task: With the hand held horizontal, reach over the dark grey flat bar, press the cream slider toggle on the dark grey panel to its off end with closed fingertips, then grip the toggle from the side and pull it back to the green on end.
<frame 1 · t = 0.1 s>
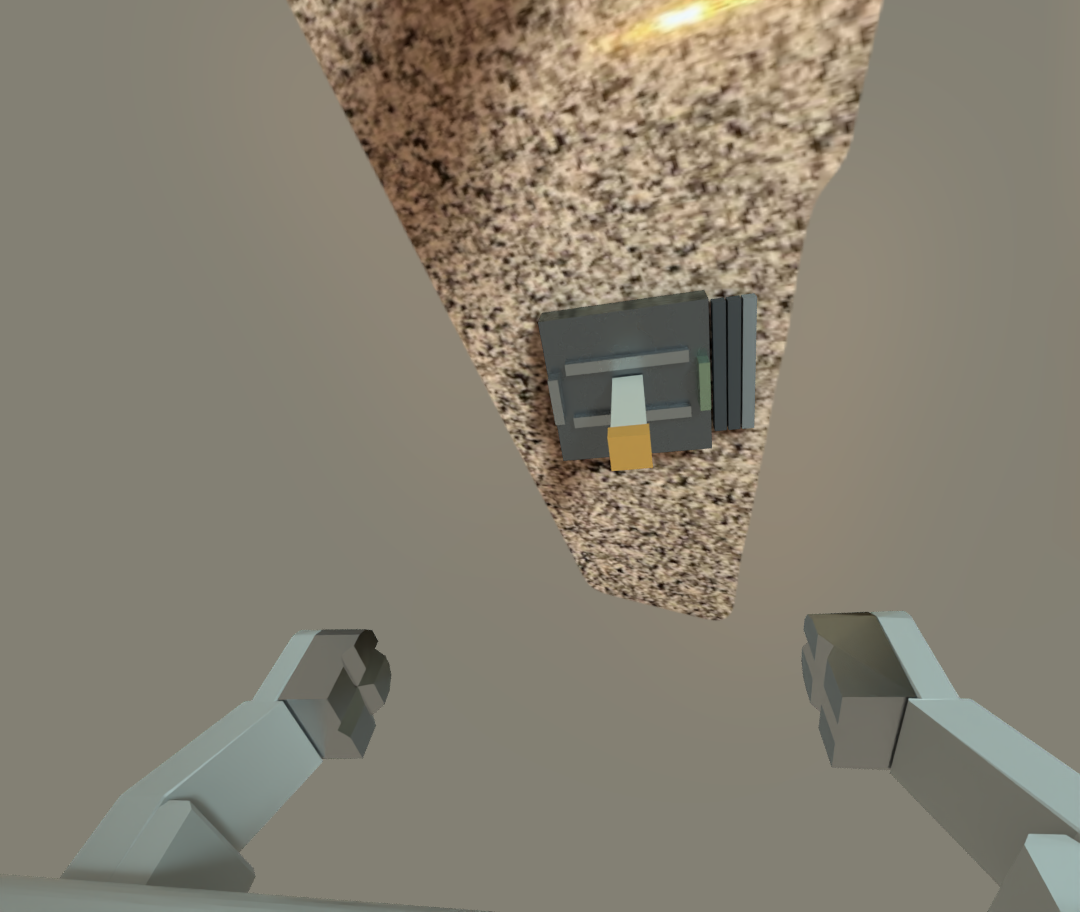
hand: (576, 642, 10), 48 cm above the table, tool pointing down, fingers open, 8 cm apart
dark grey flat bar: (731, 364, 56), on the table
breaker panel: (628, 376, 58), on the table
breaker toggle: (629, 417, 50), point 10 cm above the table, slide at 0.0 cm
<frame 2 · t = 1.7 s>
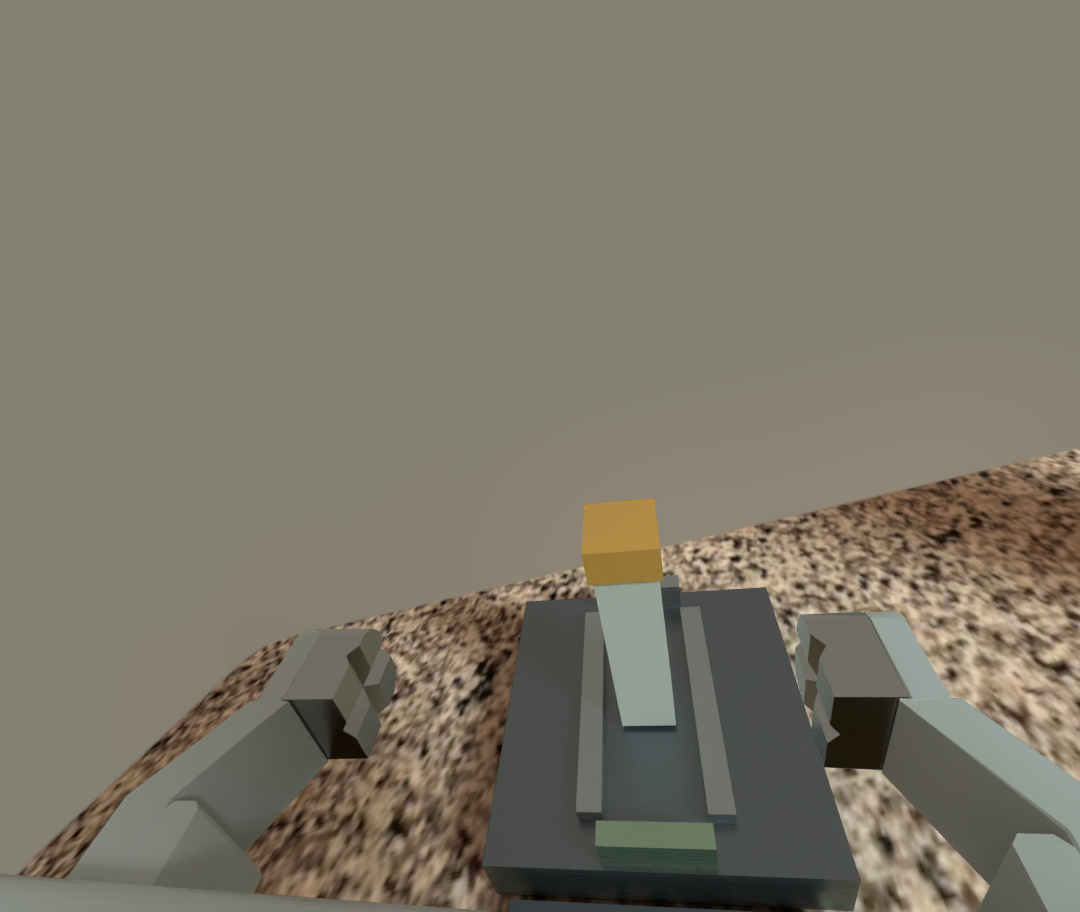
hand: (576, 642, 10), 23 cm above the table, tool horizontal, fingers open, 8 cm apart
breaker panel: (652, 734, 32), on the table
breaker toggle: (635, 622, 27), point 10 cm above the table, slide at 0.0 cm
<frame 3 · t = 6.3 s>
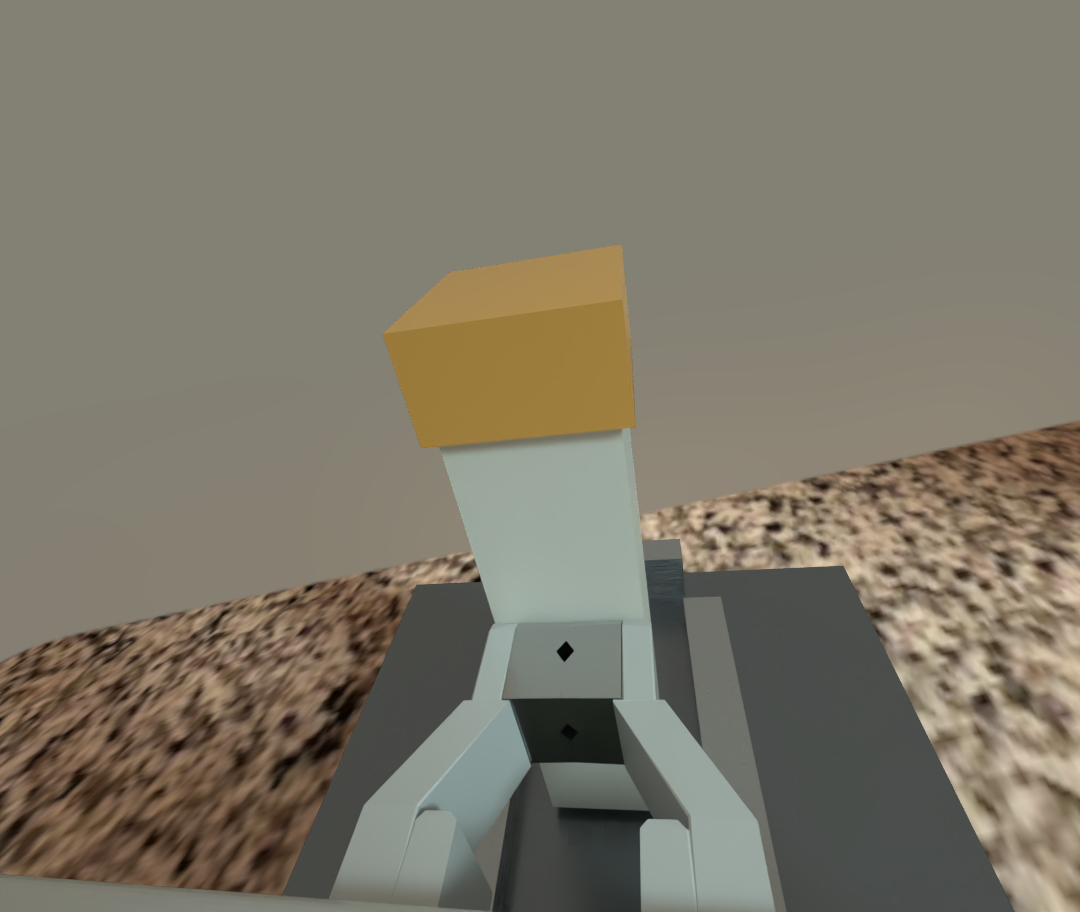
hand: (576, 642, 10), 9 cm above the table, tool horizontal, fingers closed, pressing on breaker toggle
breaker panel: (622, 855, 15), on the table
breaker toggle: (576, 579, 12), point 10 cm above the table, slide at -1.1 cm, touching gripper
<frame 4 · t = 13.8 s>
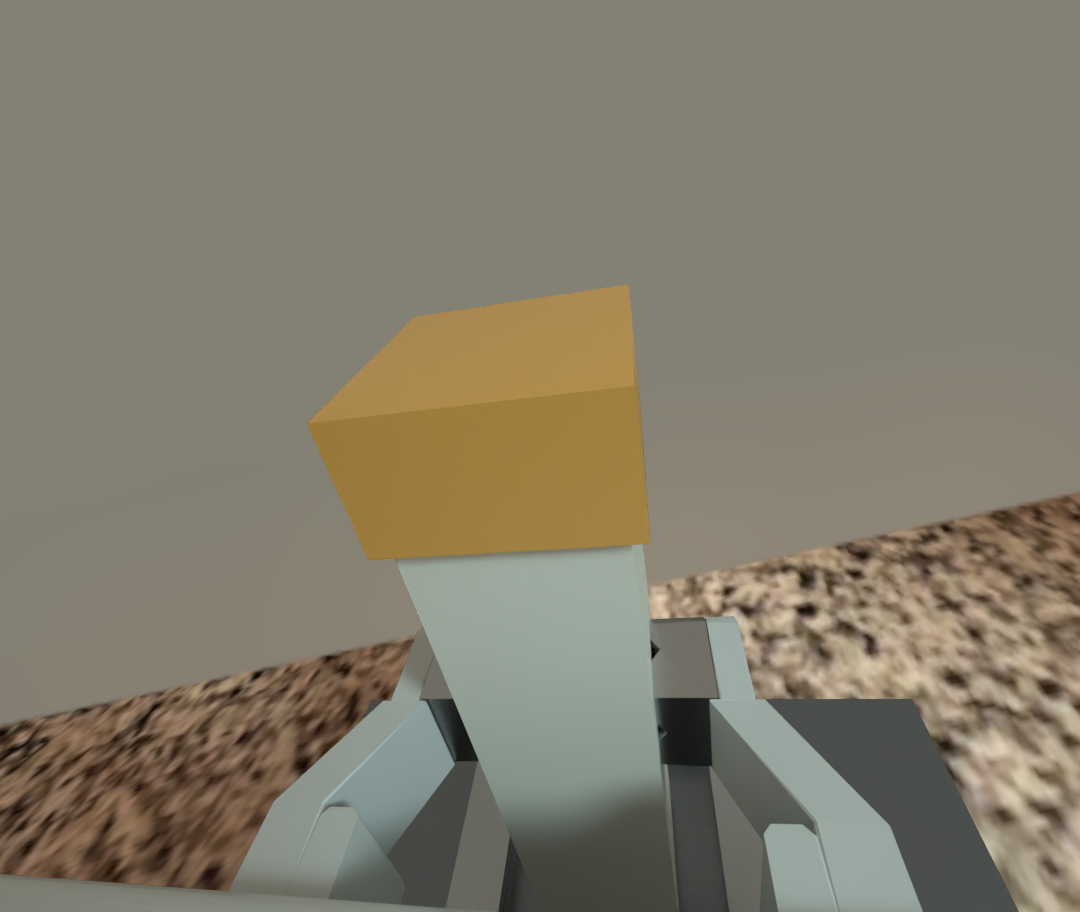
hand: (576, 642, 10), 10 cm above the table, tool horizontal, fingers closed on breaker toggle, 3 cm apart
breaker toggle: (573, 678, 10), point 10 cm above the table, slide at -3.9 cm, touching gripper
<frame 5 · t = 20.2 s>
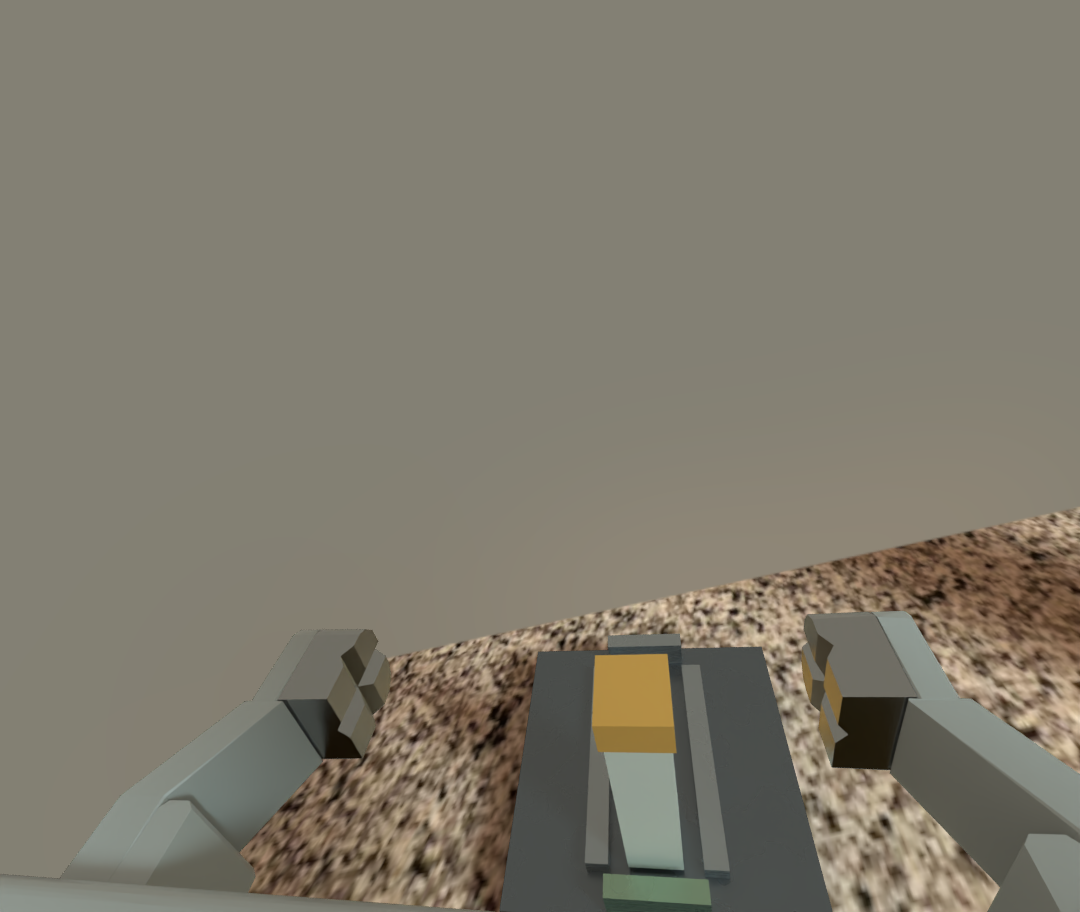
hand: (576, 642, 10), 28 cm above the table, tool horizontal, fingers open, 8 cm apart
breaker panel: (654, 785, 35), on the table
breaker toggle: (644, 771, 26), point 10 cm above the table, slide at 4.4 cm
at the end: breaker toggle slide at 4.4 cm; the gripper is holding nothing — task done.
